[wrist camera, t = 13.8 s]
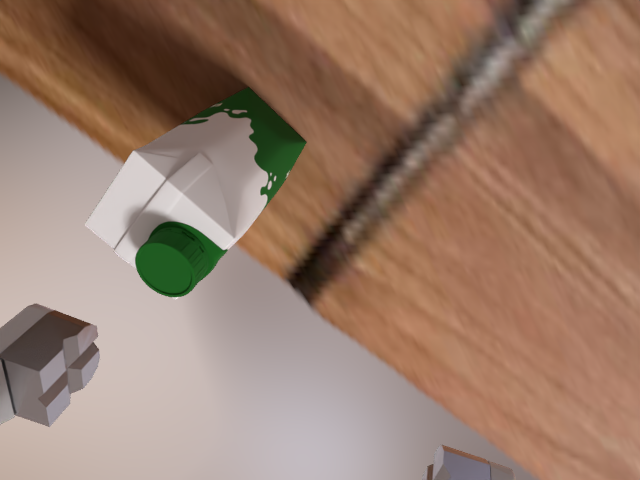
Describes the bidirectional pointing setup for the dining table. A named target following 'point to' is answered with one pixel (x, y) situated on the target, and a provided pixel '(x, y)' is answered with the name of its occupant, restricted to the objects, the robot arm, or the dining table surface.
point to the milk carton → (196, 191)
